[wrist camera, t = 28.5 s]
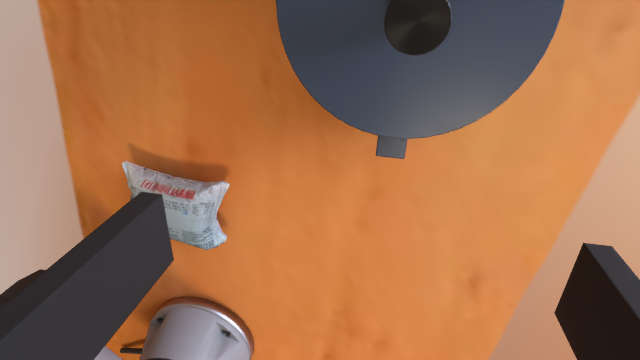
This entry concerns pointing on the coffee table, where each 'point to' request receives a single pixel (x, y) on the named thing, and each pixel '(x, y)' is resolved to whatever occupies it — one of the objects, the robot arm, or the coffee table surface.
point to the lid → (414, 58)
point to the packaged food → (183, 204)
